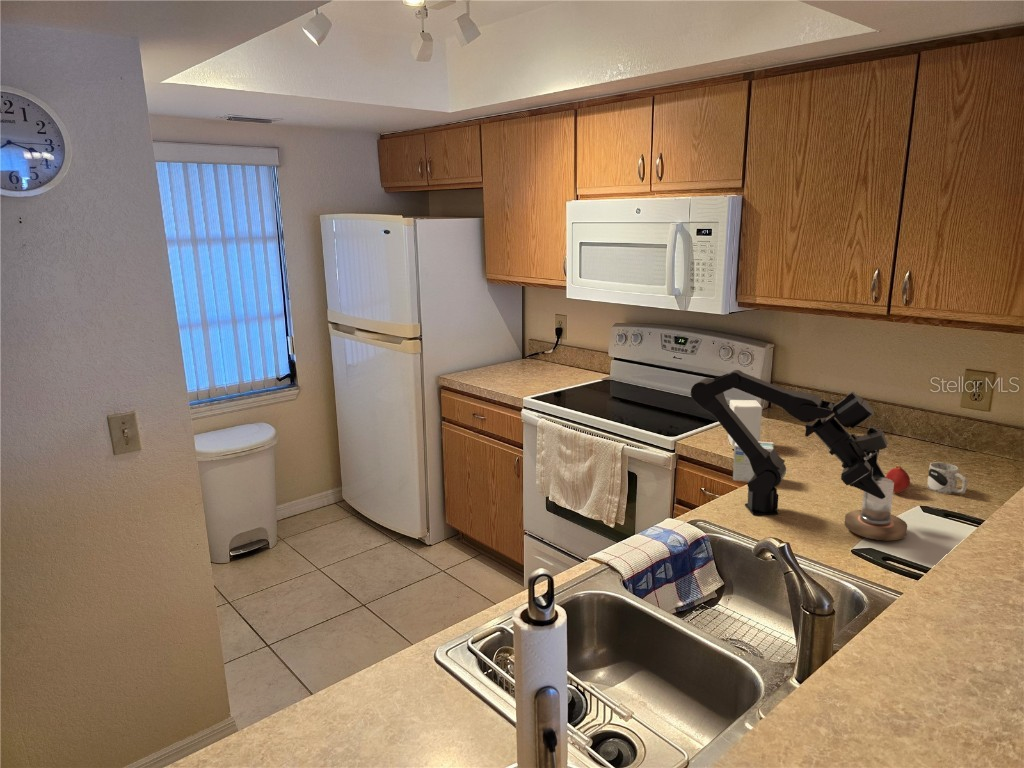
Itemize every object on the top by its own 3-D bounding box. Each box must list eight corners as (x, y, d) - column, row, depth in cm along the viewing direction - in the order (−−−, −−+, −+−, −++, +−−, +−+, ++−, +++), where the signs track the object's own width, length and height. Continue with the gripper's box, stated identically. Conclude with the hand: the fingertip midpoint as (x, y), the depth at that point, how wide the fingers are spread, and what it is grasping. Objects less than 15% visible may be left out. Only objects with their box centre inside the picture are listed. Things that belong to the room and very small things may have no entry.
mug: (921, 487, 185) (923, 464, 183) (938, 483, 187) (941, 460, 186) (955, 500, 176) (959, 476, 174) (973, 496, 178) (976, 472, 177)
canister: (860, 524, 157) (864, 483, 155) (859, 513, 162) (863, 474, 160) (891, 528, 154) (896, 487, 152) (889, 517, 160) (893, 478, 158)
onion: (886, 487, 185) (889, 460, 183) (910, 492, 182) (913, 464, 180) (881, 494, 181) (884, 466, 179) (906, 498, 177) (909, 470, 175)
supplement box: (760, 451, 218) (762, 406, 214) (731, 450, 219) (733, 406, 216) (754, 442, 226) (757, 399, 223) (727, 441, 228) (729, 399, 224)
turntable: (862, 545, 152) (863, 533, 152) (834, 521, 165) (834, 510, 164) (918, 543, 153) (919, 531, 152) (886, 519, 165) (887, 508, 165)
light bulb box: (772, 477, 195) (774, 441, 193) (771, 485, 189) (774, 448, 187) (733, 472, 199) (735, 438, 197) (732, 480, 193) (733, 445, 191)
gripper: (862, 429, 147) (914, 485, 144) (870, 409, 163) (918, 460, 159) (820, 457, 153) (870, 512, 150) (832, 436, 168) (877, 485, 165)
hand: (885, 491), depth 156 cm, fingers open, 9 cm apart
